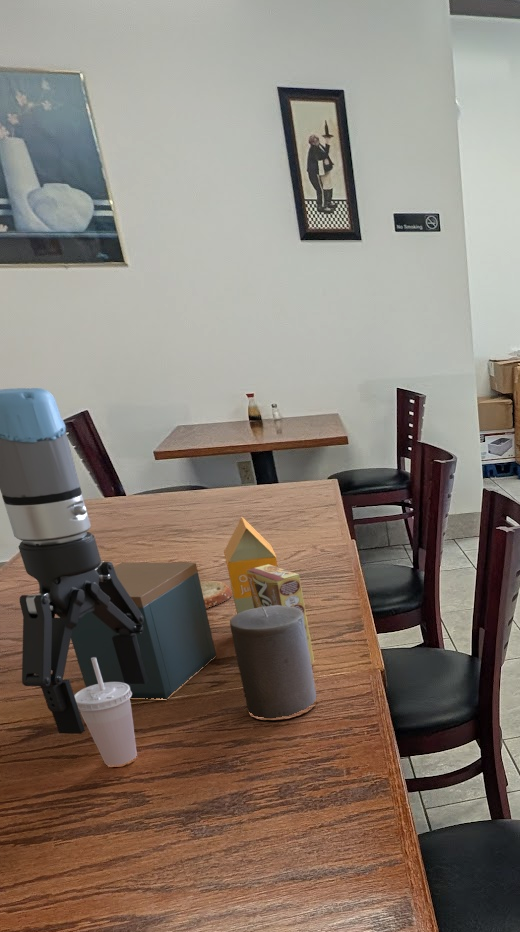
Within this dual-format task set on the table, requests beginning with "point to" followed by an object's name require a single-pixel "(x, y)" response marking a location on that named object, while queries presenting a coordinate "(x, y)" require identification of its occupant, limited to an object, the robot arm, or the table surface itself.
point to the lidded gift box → (152, 629)
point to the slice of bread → (215, 592)
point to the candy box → (278, 591)
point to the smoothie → (109, 718)
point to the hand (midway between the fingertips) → (106, 706)
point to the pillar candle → (273, 660)
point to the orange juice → (246, 561)
